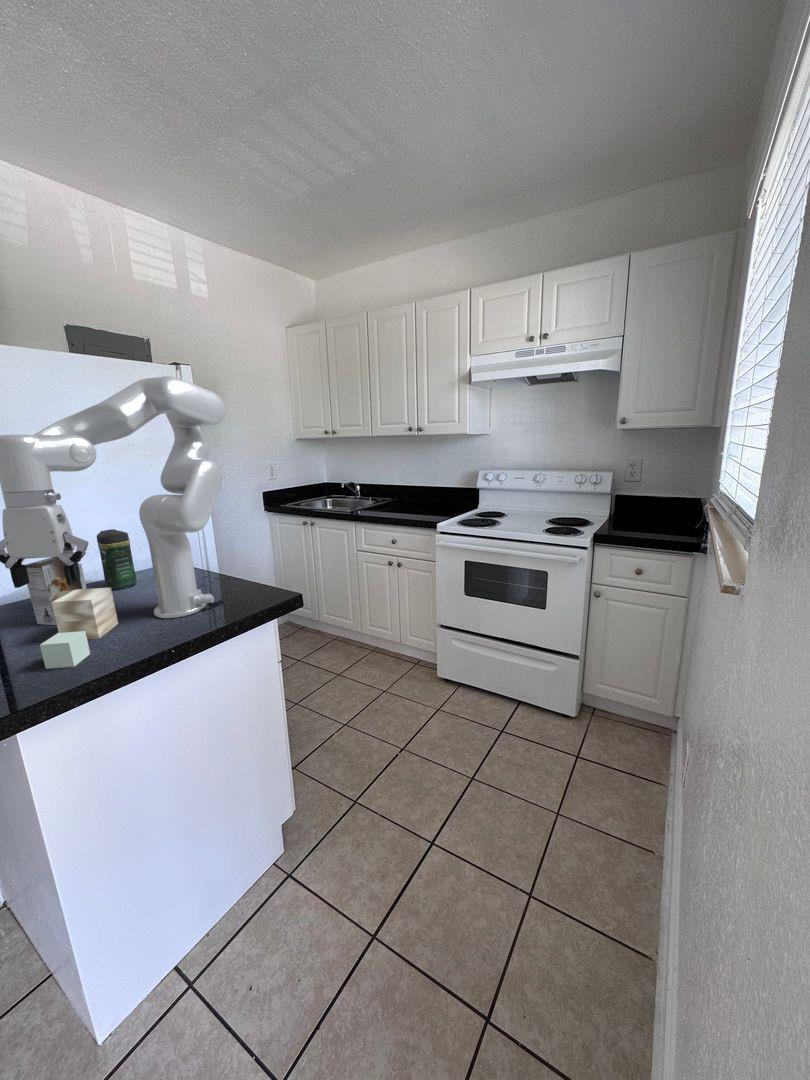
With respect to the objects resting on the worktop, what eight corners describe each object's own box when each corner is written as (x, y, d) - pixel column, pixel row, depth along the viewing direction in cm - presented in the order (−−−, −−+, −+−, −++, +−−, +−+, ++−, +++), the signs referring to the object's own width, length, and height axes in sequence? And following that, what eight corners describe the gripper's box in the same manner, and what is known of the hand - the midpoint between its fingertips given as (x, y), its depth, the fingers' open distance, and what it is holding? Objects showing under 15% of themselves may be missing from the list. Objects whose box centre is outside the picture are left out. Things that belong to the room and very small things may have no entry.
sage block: (90, 654, 94) (85, 631, 93) (74, 666, 89) (68, 642, 88) (63, 656, 94) (57, 633, 92) (45, 669, 88) (39, 644, 87)
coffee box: (69, 610, 120) (57, 555, 116) (88, 611, 118) (76, 555, 115) (36, 624, 111) (21, 565, 107) (56, 626, 110) (41, 565, 106)
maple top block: (114, 606, 109) (110, 587, 108) (95, 619, 100) (91, 599, 99) (78, 608, 108) (74, 589, 107) (56, 622, 100) (51, 602, 98)
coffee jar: (141, 585, 140) (131, 529, 136) (113, 592, 134) (102, 534, 130) (129, 579, 146) (119, 526, 142) (103, 586, 140) (91, 530, 136)
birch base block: (118, 624, 110) (114, 606, 109) (99, 639, 102) (95, 619, 101) (82, 626, 109) (78, 608, 108) (60, 642, 101) (56, 622, 100)
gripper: (89, 496, 88) (104, 576, 91) (-3, 499, 86) (16, 581, 90) (65, 500, 80) (82, 587, 84) (-36, 504, 79) (-14, 593, 82)
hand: (48, 584), depth 87 cm, fingers open, 9 cm apart
